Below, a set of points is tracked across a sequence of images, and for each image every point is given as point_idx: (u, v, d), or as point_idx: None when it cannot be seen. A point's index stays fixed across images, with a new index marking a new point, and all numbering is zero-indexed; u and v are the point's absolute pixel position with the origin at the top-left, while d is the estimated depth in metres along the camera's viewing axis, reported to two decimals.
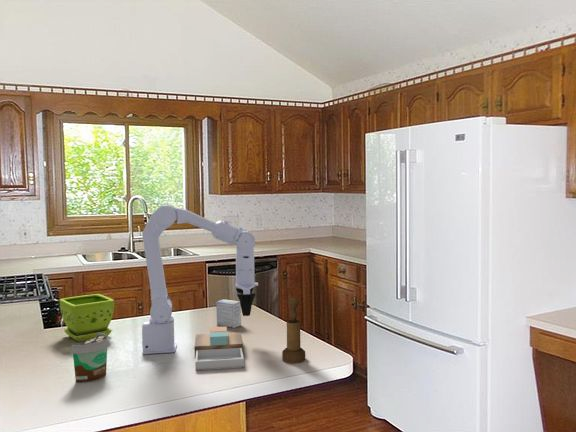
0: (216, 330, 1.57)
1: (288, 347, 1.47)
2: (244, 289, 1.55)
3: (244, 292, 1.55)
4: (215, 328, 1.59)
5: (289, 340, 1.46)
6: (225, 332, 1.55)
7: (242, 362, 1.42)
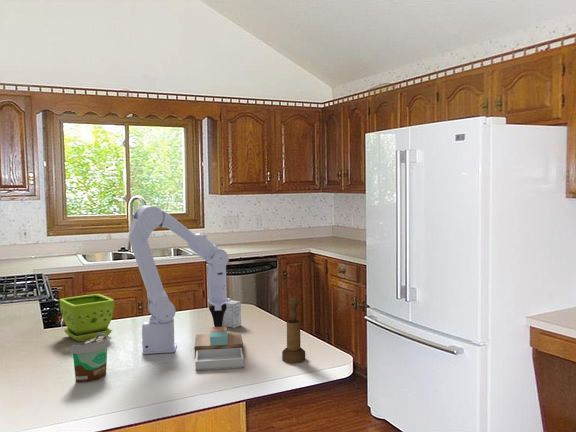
0: (216, 330, 1.57)
1: (288, 347, 1.47)
2: (215, 305, 1.59)
3: (215, 308, 1.59)
4: (215, 328, 1.59)
5: (289, 340, 1.46)
6: (225, 332, 1.55)
7: (242, 362, 1.42)
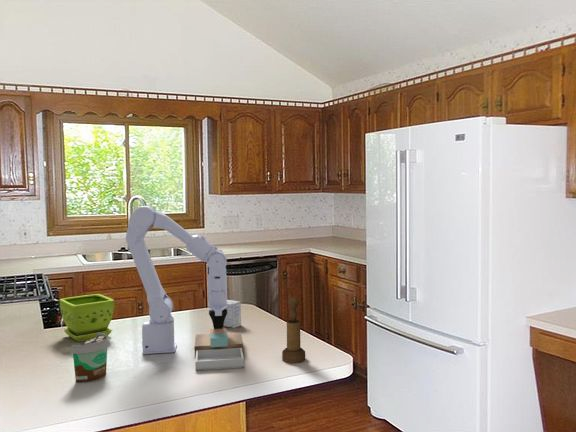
0: (216, 332, 1.55)
1: (288, 347, 1.47)
2: (216, 311, 1.52)
3: (216, 314, 1.52)
4: (215, 330, 1.57)
5: (289, 340, 1.46)
6: (225, 333, 1.53)
7: (242, 362, 1.42)
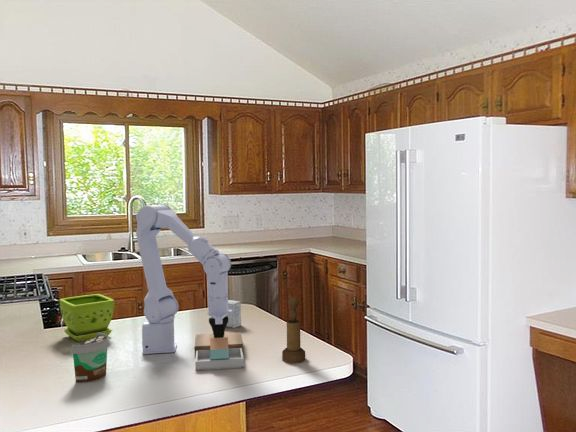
0: (217, 347, 1.46)
1: (288, 347, 1.47)
2: (216, 319, 1.43)
3: (216, 322, 1.43)
4: (216, 342, 1.48)
5: (289, 340, 1.46)
6: None
7: (242, 362, 1.42)
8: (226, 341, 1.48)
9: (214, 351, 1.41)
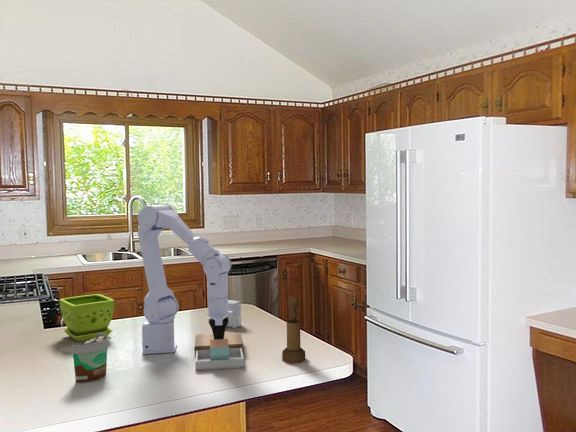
0: None
1: (288, 347, 1.47)
2: (216, 320, 1.42)
3: (216, 323, 1.42)
4: (215, 344, 1.47)
5: (289, 340, 1.46)
6: (227, 357, 1.41)
7: (242, 362, 1.42)
8: (226, 343, 1.47)
9: (214, 349, 1.41)
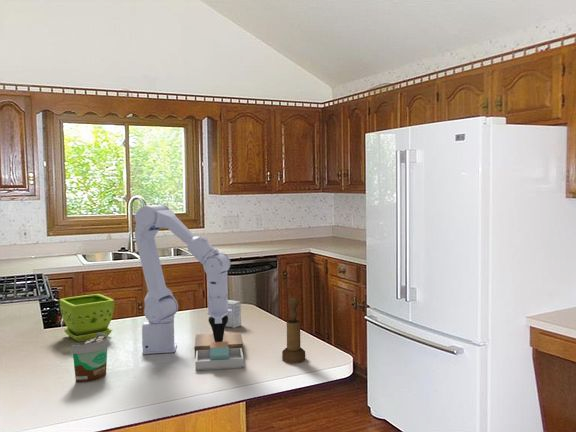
0: None
1: (288, 347, 1.47)
2: (215, 318, 1.44)
3: (215, 321, 1.44)
4: (216, 345, 1.47)
5: (289, 340, 1.46)
6: (227, 357, 1.41)
7: (242, 362, 1.42)
8: (226, 345, 1.48)
9: (214, 349, 1.41)
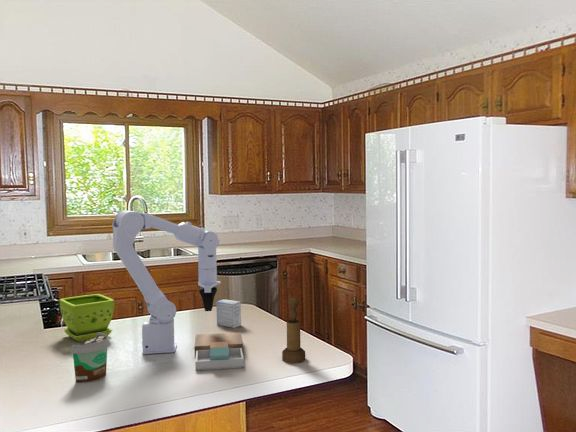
0: None
1: (288, 347, 1.47)
2: (205, 287, 1.58)
3: (205, 290, 1.58)
4: (216, 345, 1.47)
5: (289, 340, 1.46)
6: (227, 357, 1.41)
7: (242, 362, 1.42)
8: (226, 345, 1.48)
9: (214, 349, 1.41)
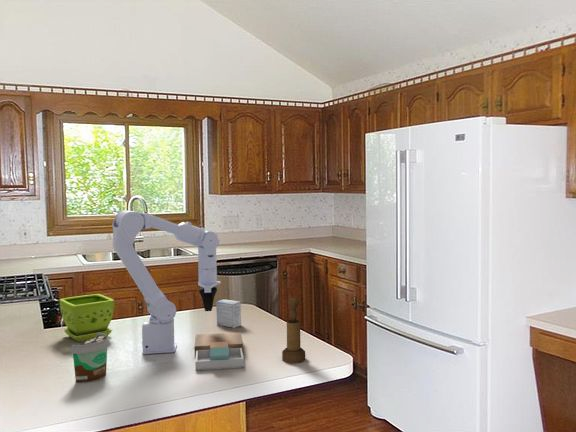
0: None
1: (288, 347, 1.47)
2: (205, 287, 1.58)
3: (205, 290, 1.58)
4: (216, 345, 1.47)
5: (289, 340, 1.46)
6: (227, 357, 1.41)
7: (242, 362, 1.42)
8: (226, 345, 1.48)
9: (214, 349, 1.41)
